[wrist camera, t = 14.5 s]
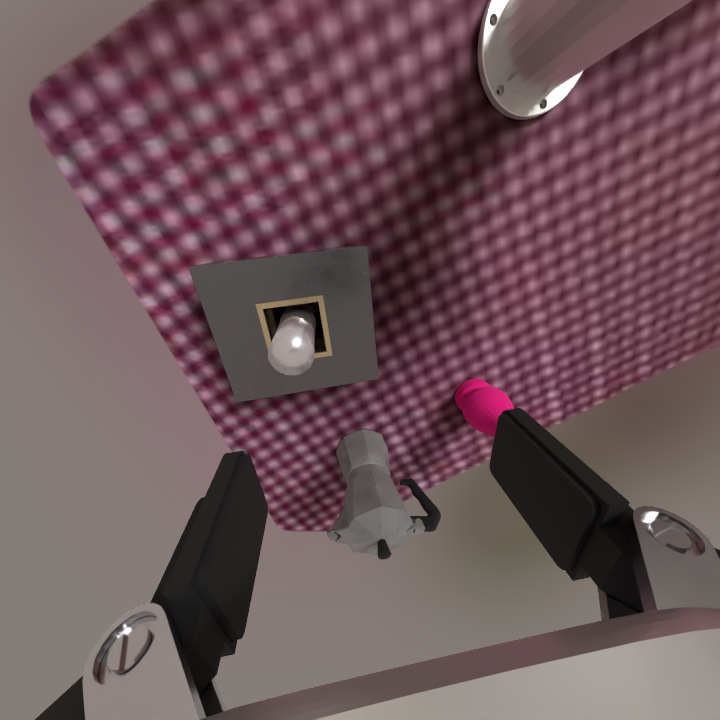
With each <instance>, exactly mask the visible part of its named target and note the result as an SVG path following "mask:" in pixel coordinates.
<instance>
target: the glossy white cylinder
mask: <svg viewBox="0 0 720 720" xmlns="http://www.w3.org/2000/svg"><path fill="white" fill-rule="evenodd" d="M315 330H316V319H315V313H314V310H313V308H312V307H311V306H310V305H309V304H308V303H304V304H297V305H289V306H288V307H287V309H286V310H285V311H284V313H283V314H282V316H281V319H280V323H279V326H278V329H277V331H276V333H275V335H274V337H273V340H272V342H271V344H270V346H269V349H268V359H269V362H270V363H271V365H272V366H273V368H274V369H276V370H277V371H278V372H280V373H282V374H285V375H299V374H302V373H304V372H305V371H307V370H308V369H309V368H310V367H311V365H312V363H313V361H314V341H315Z"/></svg>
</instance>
